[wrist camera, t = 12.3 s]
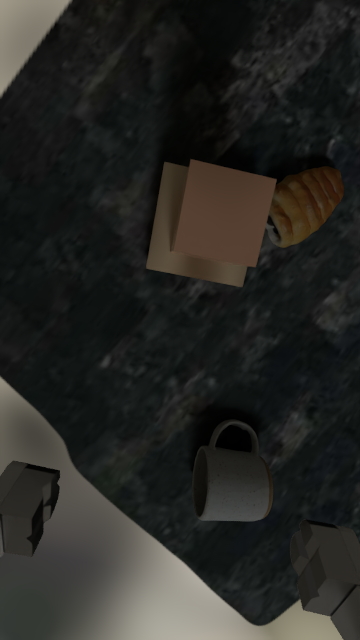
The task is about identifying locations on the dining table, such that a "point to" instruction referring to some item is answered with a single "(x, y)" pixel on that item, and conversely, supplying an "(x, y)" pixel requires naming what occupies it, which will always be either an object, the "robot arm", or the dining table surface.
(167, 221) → the oak base block
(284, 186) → the pastry
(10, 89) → the dining table surface
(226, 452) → the ceramic mug
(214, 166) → the reddish brown block
